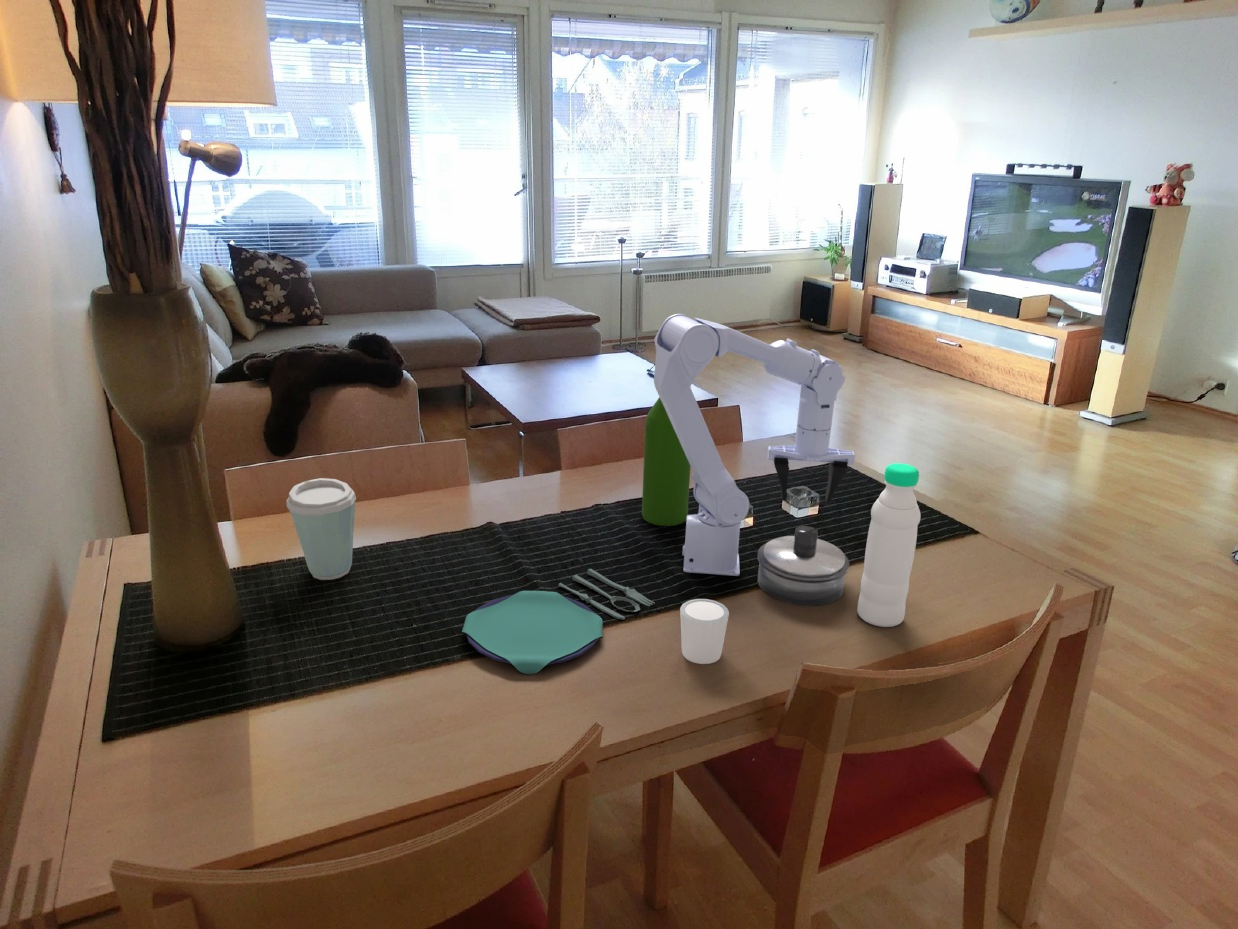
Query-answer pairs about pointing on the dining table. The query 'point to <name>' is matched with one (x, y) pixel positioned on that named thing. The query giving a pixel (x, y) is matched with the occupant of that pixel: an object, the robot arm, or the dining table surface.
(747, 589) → the dining table surface
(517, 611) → the cutlery set
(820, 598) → the cooking pot
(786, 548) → the steel lid
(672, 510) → the wine bottle
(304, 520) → the disposable coffee cup
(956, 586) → the dining table surface
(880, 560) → the water bottle
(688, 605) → the white cup
